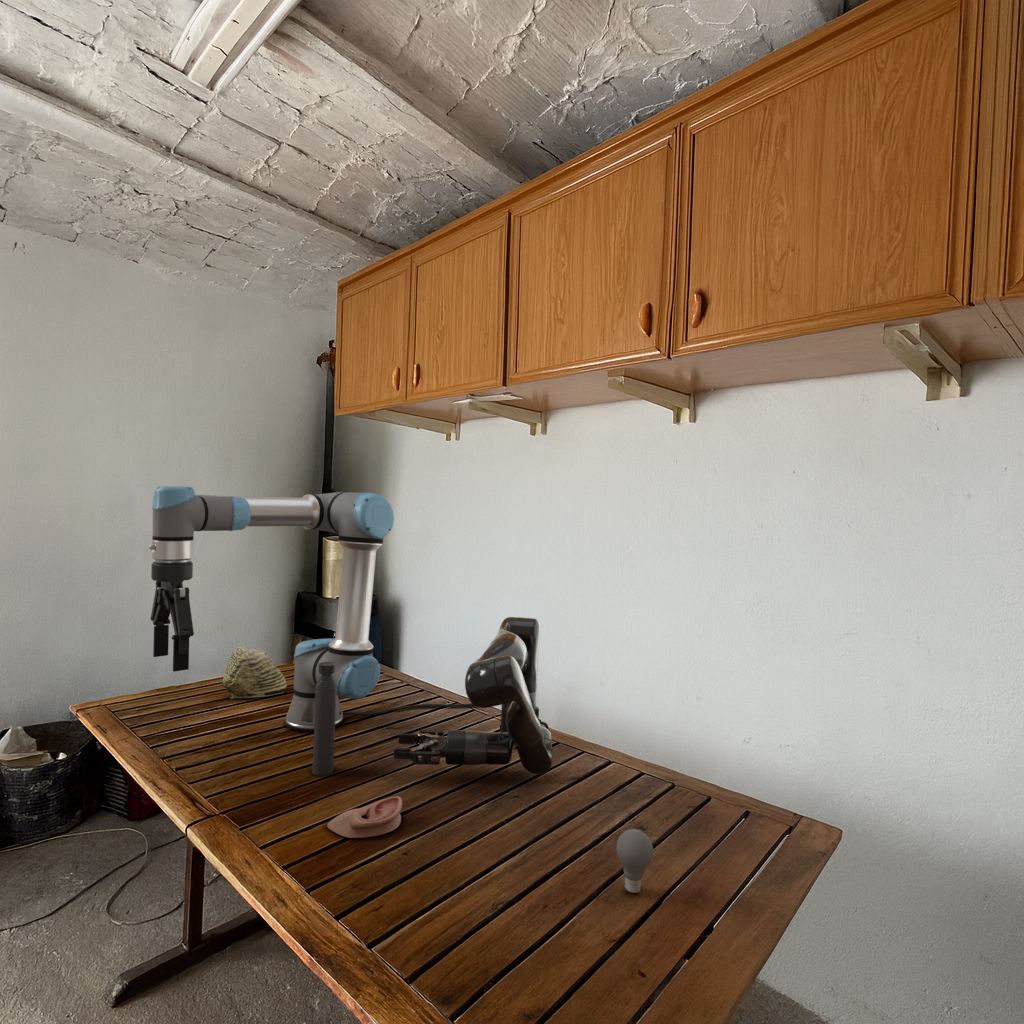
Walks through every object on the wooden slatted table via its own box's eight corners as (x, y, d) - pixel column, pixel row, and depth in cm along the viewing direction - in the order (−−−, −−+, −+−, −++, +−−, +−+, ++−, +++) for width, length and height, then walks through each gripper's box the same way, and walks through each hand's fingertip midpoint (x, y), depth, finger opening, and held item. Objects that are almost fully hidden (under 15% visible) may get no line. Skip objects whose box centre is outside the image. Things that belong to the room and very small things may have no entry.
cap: (337, 670, 147) (337, 662, 147) (331, 675, 144) (332, 666, 144) (321, 669, 147) (322, 661, 147) (315, 674, 144) (316, 665, 144)
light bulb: (610, 879, 108) (613, 822, 108) (644, 879, 109) (647, 822, 109) (619, 902, 102) (622, 840, 102) (655, 901, 103) (658, 840, 103)
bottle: (336, 768, 148) (340, 663, 148) (329, 776, 143) (333, 668, 143) (316, 766, 148) (320, 662, 148) (309, 775, 144) (313, 667, 143)
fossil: (218, 695, 195) (220, 647, 195) (278, 685, 208) (279, 640, 207) (228, 703, 189) (230, 653, 188) (289, 692, 201) (290, 645, 201)
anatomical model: (320, 812, 119) (347, 786, 130) (319, 833, 119) (347, 805, 130) (386, 822, 116) (408, 795, 127) (385, 844, 116) (408, 814, 128)
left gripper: (136, 555, 137) (134, 653, 138) (171, 568, 119) (168, 680, 120) (173, 554, 142) (171, 648, 143) (212, 566, 124) (210, 673, 125)
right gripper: (468, 720, 154) (401, 718, 153) (466, 743, 140) (392, 741, 139) (466, 751, 154) (399, 749, 153) (465, 777, 140) (391, 775, 139)
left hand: (170, 662), depth 131 cm, fingers open, 13 cm apart
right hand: (396, 745), depth 146 cm, fingers open, 8 cm apart
